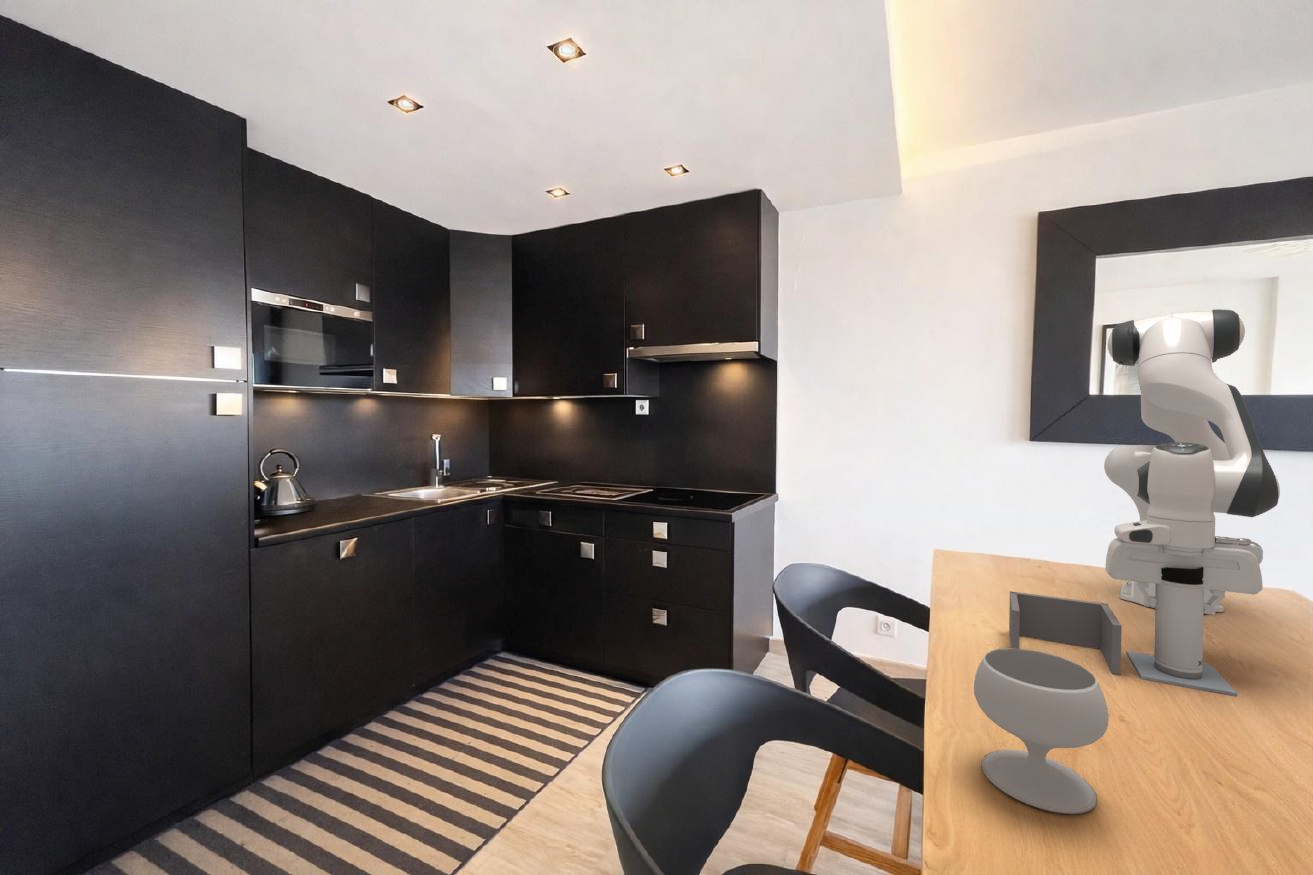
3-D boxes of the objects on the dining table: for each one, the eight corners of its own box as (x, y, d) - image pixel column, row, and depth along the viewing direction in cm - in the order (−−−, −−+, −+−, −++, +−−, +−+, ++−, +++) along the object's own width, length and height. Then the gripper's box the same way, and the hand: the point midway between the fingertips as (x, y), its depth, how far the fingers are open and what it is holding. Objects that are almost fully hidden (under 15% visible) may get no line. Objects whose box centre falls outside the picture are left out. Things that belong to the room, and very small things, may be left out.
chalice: (949, 765, 73) (950, 655, 72) (1016, 739, 79) (1017, 637, 78) (1062, 838, 60) (1064, 706, 60) (1132, 800, 66) (1134, 679, 65)
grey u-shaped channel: (1009, 632, 117) (1009, 591, 117) (1106, 648, 109) (1107, 603, 108) (1011, 655, 106) (1012, 610, 105) (1120, 675, 97) (1121, 625, 97)
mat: (1126, 653, 106) (1126, 650, 106) (1211, 667, 100) (1211, 664, 100) (1141, 678, 96) (1141, 676, 96) (1236, 696, 90) (1236, 693, 90)
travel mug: (1214, 681, 94) (1217, 566, 93) (1169, 677, 95) (1171, 565, 94) (1187, 665, 100) (1189, 557, 99) (1145, 662, 101) (1147, 556, 100)
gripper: (1255, 536, 94) (1253, 614, 95) (1104, 525, 105) (1103, 596, 105) (1271, 543, 89) (1269, 626, 89) (1110, 531, 99) (1109, 605, 100)
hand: (1178, 610), depth 97 cm, fingers closed on travel mug, 6 cm apart
